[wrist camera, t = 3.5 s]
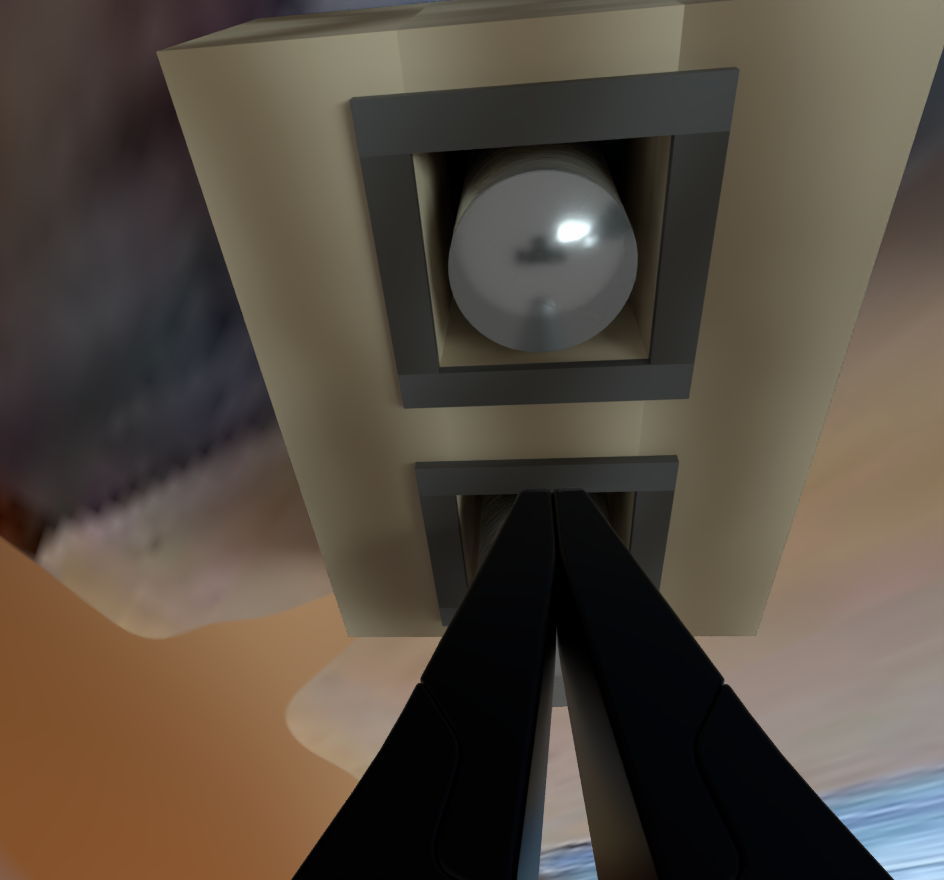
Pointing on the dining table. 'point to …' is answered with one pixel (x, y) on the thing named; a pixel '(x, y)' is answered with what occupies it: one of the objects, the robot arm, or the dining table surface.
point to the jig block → (615, 347)
